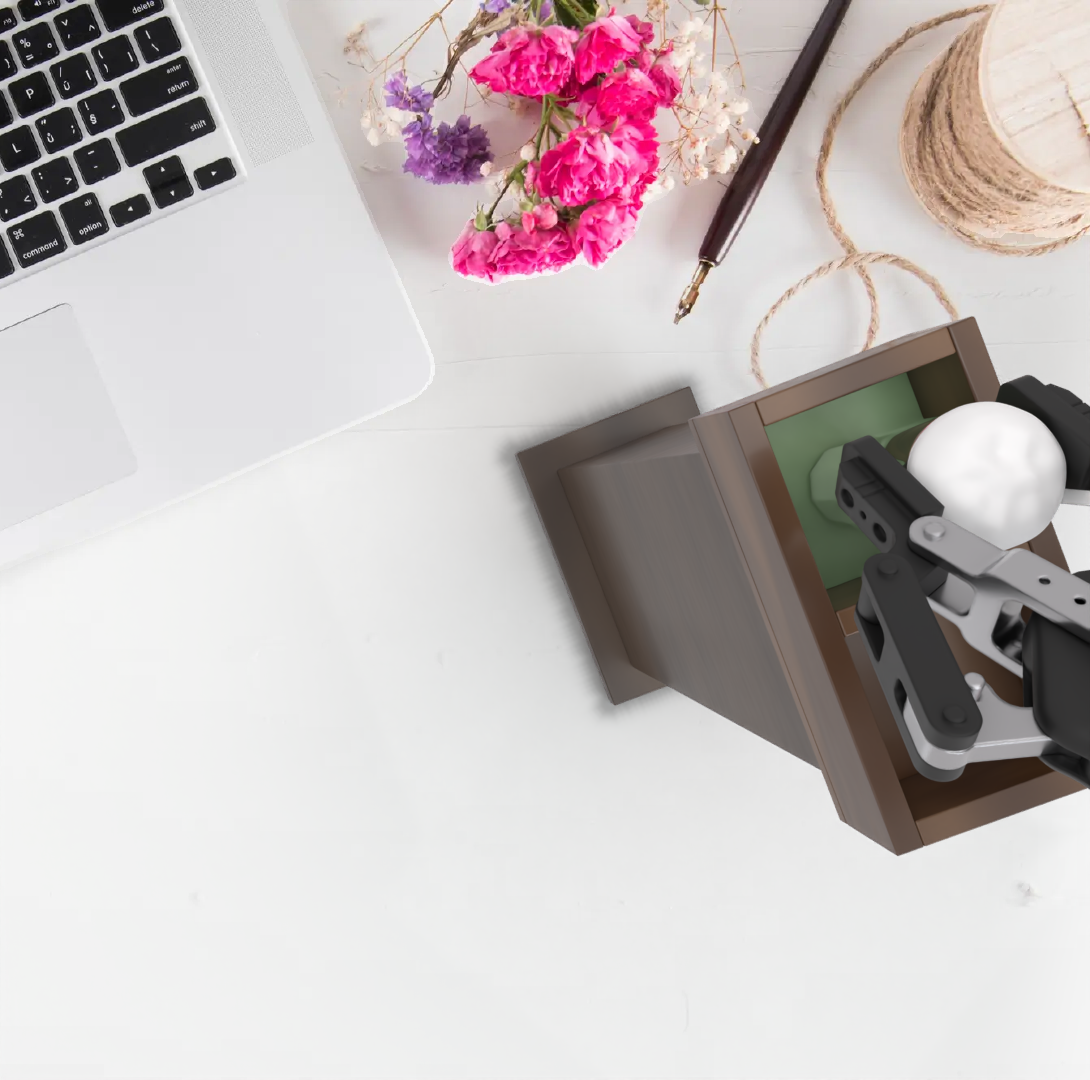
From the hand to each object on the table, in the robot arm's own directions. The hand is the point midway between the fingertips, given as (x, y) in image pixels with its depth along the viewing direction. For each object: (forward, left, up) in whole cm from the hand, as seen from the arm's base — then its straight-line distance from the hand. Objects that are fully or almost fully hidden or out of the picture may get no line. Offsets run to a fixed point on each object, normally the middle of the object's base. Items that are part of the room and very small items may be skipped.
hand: (928, 430), depth 33 cm
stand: (-2, +5, -35) cm, 35 cm away
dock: (-2, +5, -7) cm, 9 cm away
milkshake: (-1, +2, -6) cm, 7 cm away
